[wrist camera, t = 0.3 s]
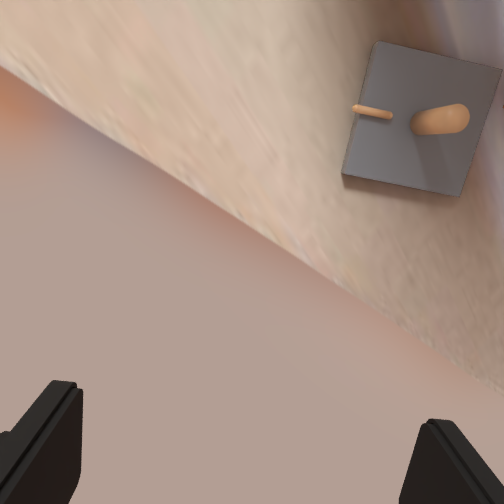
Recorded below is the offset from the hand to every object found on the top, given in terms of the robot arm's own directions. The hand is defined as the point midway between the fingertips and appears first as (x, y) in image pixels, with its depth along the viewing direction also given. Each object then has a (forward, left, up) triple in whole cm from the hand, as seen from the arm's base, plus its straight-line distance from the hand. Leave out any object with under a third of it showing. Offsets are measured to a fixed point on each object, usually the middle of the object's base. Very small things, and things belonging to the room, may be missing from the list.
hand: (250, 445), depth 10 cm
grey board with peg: (-13, +15, -31) cm, 36 cm away
